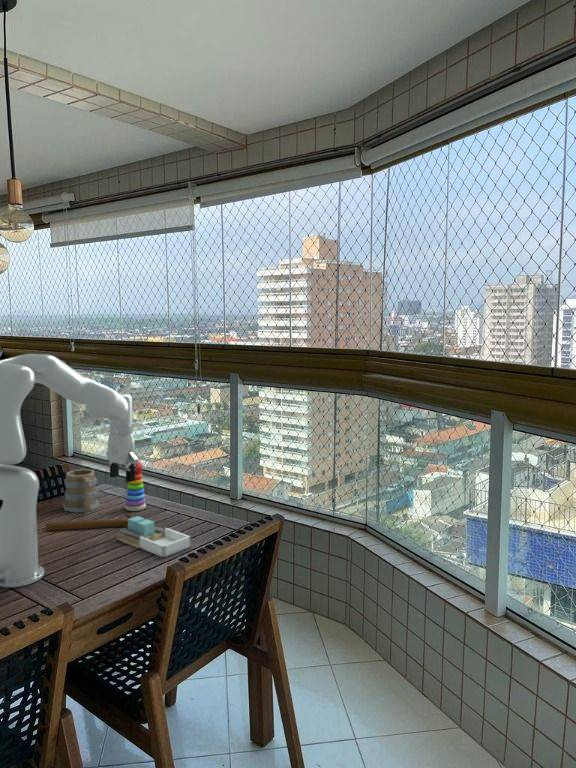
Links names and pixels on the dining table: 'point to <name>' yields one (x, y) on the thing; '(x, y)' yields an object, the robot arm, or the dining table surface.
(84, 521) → the hammer
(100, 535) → the dining table surface
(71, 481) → the tankard
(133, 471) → the robot arm
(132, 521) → the teal cube block
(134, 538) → the slot board
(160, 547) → the tray
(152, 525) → the light teal cube
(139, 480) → the stacking toy
